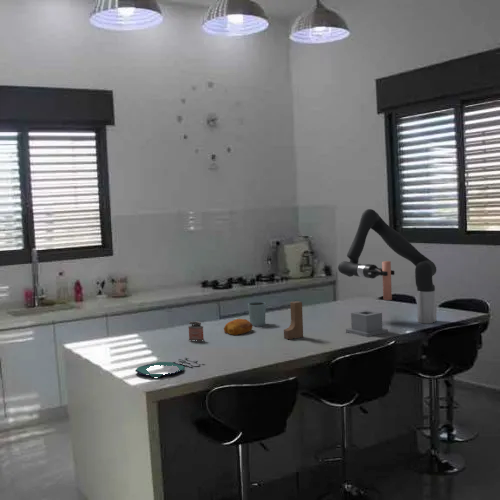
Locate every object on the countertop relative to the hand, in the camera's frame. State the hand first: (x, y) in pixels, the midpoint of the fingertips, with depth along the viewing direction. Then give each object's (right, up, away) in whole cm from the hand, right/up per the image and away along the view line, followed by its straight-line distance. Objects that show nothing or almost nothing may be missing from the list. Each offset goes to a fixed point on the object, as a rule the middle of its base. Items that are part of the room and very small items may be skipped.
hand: (390, 273), depth 331 cm
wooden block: (-51, -32, -10) cm, 61 cm away
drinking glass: (-69, -30, +26) cm, 79 cm away
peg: (-1, -14, +3) cm, 14 cm away
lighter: (-100, -34, -8) cm, 106 cm away
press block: (-13, -30, -5) cm, 33 cm away
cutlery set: (-107, -40, -59) cm, 129 cm away
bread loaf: (-80, -32, +9) cm, 86 cm away
